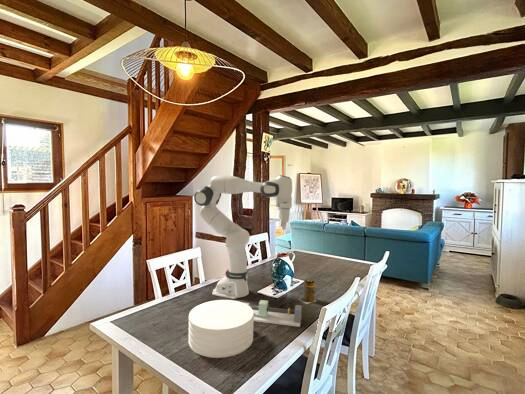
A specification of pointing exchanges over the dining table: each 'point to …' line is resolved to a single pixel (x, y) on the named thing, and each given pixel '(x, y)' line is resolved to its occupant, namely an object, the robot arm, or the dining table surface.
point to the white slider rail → (279, 315)
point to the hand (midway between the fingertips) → (283, 228)
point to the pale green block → (263, 308)
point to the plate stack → (220, 328)
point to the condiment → (308, 292)
